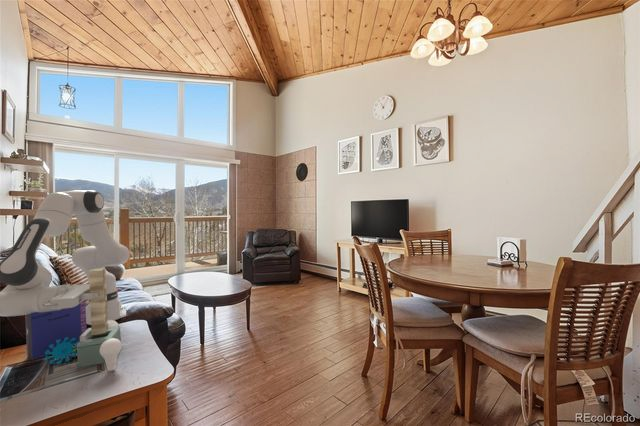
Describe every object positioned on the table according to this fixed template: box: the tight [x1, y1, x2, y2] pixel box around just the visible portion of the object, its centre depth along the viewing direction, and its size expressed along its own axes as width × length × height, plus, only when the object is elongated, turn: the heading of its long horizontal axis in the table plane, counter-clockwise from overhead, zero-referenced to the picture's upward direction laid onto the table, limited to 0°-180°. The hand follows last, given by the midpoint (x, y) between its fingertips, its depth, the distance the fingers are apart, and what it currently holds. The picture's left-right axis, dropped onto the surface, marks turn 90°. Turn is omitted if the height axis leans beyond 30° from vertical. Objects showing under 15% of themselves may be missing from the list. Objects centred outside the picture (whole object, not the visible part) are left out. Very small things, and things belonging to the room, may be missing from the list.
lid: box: [76, 326, 121, 348], centre depth 107 cm, size 12×10×3 cm
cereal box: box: [25, 300, 88, 361], centre depth 115 cm, size 17×5×24 cm, turn 154°
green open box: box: [76, 330, 122, 369], centre depth 107 cm, size 12×10×7 cm
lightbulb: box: [100, 338, 122, 372], centre depth 96 cm, size 6×6×11 cm
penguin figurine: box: [108, 320, 119, 329], centre depth 119 cm, size 6×8×12 cm
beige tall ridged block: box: [88, 267, 108, 335], centre depth 107 cm, size 4×4×24 cm
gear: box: [44, 337, 79, 366], centre depth 106 cm, size 11×6×10 cm
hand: (101, 292), depth 107 cm, fingers closed on beige tall ridged block, 4 cm apart
